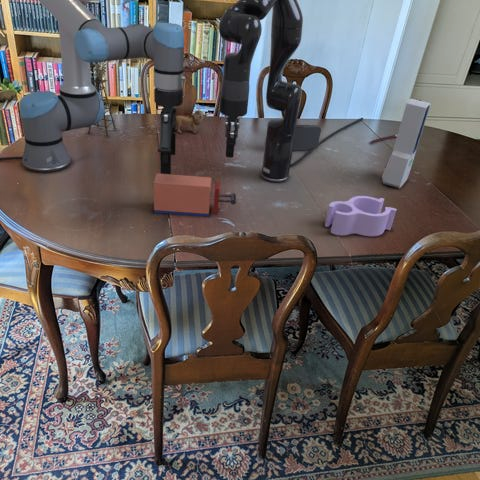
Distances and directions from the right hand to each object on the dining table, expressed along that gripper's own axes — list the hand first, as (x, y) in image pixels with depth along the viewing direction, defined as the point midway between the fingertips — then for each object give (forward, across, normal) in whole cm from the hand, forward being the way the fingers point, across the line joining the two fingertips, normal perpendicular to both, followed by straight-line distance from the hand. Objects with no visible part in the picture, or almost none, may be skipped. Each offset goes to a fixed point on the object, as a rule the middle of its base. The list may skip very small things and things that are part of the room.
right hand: (229, 156), depth 133 cm
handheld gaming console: (+18, +55, -27) cm, 64 cm away
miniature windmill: (+18, +59, +50) cm, 79 cm away
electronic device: (+18, +32, -63) cm, 73 cm away
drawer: (+17, 0, +7) cm, 19 cm away
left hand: (+4, 0, +17) cm, 18 cm away
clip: (+18, -4, -40) cm, 45 cm away
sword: (+18, +78, -76) cm, 111 cm away
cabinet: (+18, 0, +13) cm, 23 cm away
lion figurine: (+18, +67, +16) cm, 71 cm away
